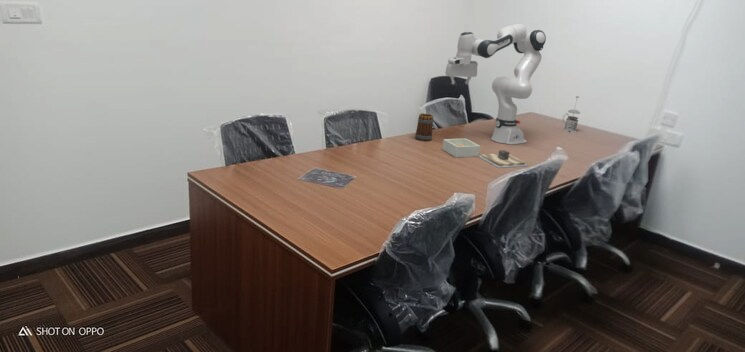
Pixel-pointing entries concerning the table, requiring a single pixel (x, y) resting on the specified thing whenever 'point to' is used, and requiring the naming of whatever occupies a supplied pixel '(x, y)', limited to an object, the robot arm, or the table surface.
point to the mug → (424, 127)
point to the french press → (571, 120)
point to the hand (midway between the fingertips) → (459, 84)
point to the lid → (503, 159)
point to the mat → (501, 166)
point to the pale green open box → (461, 147)
